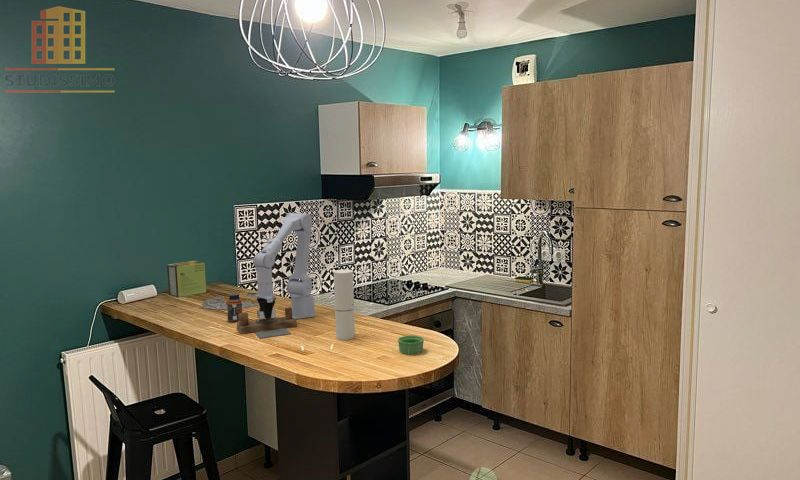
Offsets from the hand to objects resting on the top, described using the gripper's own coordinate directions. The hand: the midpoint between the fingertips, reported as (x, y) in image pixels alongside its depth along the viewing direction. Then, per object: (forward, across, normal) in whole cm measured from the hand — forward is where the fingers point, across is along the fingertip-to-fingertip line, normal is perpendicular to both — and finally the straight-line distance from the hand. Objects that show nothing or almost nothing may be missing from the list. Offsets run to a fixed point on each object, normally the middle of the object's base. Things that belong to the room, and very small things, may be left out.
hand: (266, 316), depth 243 cm
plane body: (+5, 0, 0) cm, 5 cm away
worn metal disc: (+5, -54, -1) cm, 54 cm away
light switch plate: (0, 0, 0) cm, 0 cm away
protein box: (+5, -85, -20) cm, 87 cm away
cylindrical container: (+5, +27, +23) cm, 36 cm away
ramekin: (+5, +54, +37) cm, 66 cm away
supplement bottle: (+5, -18, -9) cm, 21 cm away
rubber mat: (+5, +10, 0) cm, 11 cm away
